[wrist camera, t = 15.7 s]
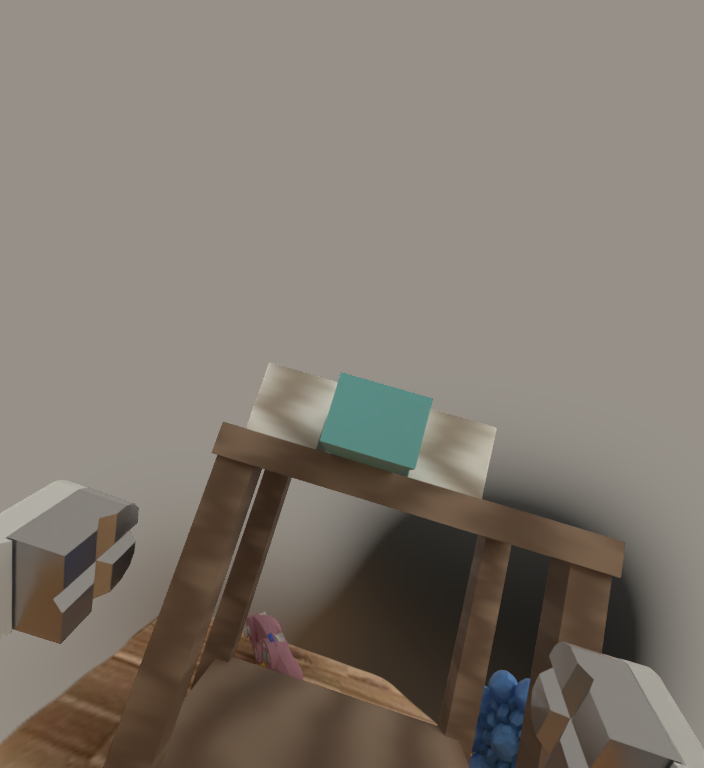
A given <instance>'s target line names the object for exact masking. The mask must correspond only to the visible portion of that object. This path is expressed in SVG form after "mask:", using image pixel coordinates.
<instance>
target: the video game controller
mask: <svg viewBox="0 0 704 768" xmlns="http://www.w3.org/2000/svg"><path fill="white" fill-rule="evenodd" d="M246 624H247V630H246V628H244V636H245V637H246V638H248V636H249V638H250V641H251V644H252V647H253V652H254V656H255V659H256V661H257V663H260V662H261V665H260V666H261V667H264V668H267V669H270V670H273V671H276V672H279V673H282V674H285V675H288V676H291V677H294V678H297V679H300V680H303V672H302V669H301V667H300V666H299V664H298V663H297V662H296V660H295V659H294V657H293V655H292V654H291V651H290V649H289V646H288V643H287V641H286V639H285V637H284V635H283V633H282V631H281V627H280V624H279V622H278V621H277V620H276V619H275V618H273V617H271V616H269V615H266V612H265V611H264V612H263V613H262V614H259V613H257V614H254V615H252V616H249V617H247V619H246Z"/></svg>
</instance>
